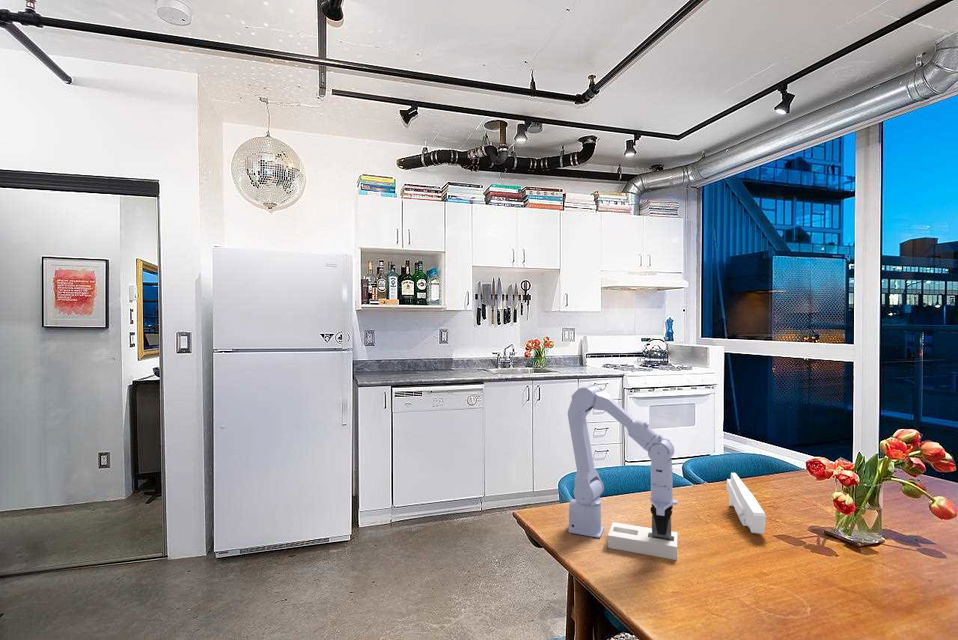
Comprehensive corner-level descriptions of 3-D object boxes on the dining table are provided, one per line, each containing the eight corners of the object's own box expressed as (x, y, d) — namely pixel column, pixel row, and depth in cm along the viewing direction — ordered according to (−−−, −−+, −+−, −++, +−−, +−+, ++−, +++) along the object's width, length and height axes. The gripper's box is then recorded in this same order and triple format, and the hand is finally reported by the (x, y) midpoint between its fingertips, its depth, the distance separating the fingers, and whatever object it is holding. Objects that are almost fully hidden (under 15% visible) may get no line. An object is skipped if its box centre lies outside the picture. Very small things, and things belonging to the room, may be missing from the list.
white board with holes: (607, 547, 135) (607, 535, 135) (613, 533, 145) (612, 522, 145) (676, 560, 128) (676, 546, 128) (677, 544, 137) (677, 532, 137)
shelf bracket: (739, 506, 167) (741, 473, 165) (767, 553, 143) (770, 515, 141) (722, 505, 168) (724, 472, 166) (747, 551, 144) (749, 513, 142)
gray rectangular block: (651, 549, 134) (651, 517, 135) (652, 546, 136) (652, 514, 136) (671, 552, 132) (671, 519, 133) (671, 549, 134) (671, 517, 134)
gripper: (676, 493, 126) (676, 545, 126) (677, 478, 140) (677, 525, 139) (648, 490, 129) (648, 541, 129) (651, 475, 143) (652, 521, 142)
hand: (661, 532), depth 134 cm, fingers closed on gray rectangular block, 2 cm apart
